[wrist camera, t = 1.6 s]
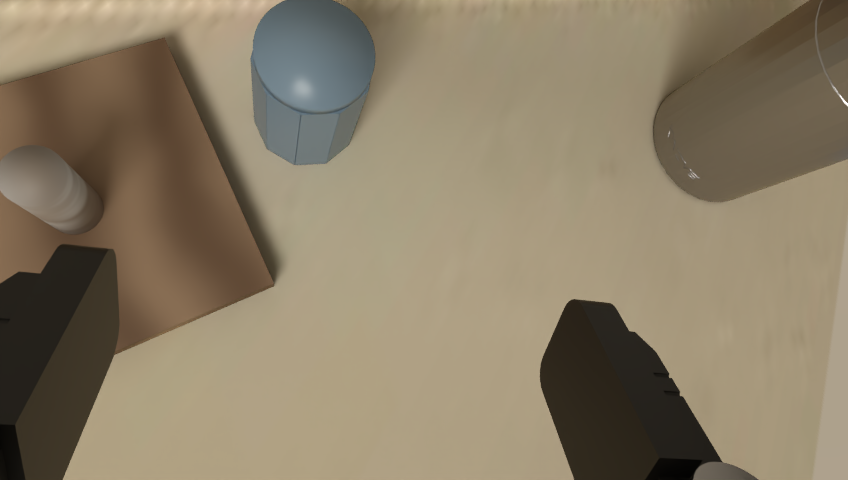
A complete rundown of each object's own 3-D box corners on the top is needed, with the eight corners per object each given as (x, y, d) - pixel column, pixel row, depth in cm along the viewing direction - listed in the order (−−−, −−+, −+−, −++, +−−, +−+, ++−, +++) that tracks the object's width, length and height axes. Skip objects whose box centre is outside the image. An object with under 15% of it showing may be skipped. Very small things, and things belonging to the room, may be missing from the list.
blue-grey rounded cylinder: (328, 61, 40) (344, -20, 32) (368, 147, 40) (395, 88, 31) (240, 90, 39) (232, 12, 30) (281, 180, 38) (284, 127, 30)
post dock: (168, 49, 38) (142, -29, 31) (273, 286, 37) (274, 266, 29) (-128, 137, 33) (-245, 70, 26) (-18, 411, 32) (-107, 426, 25)
